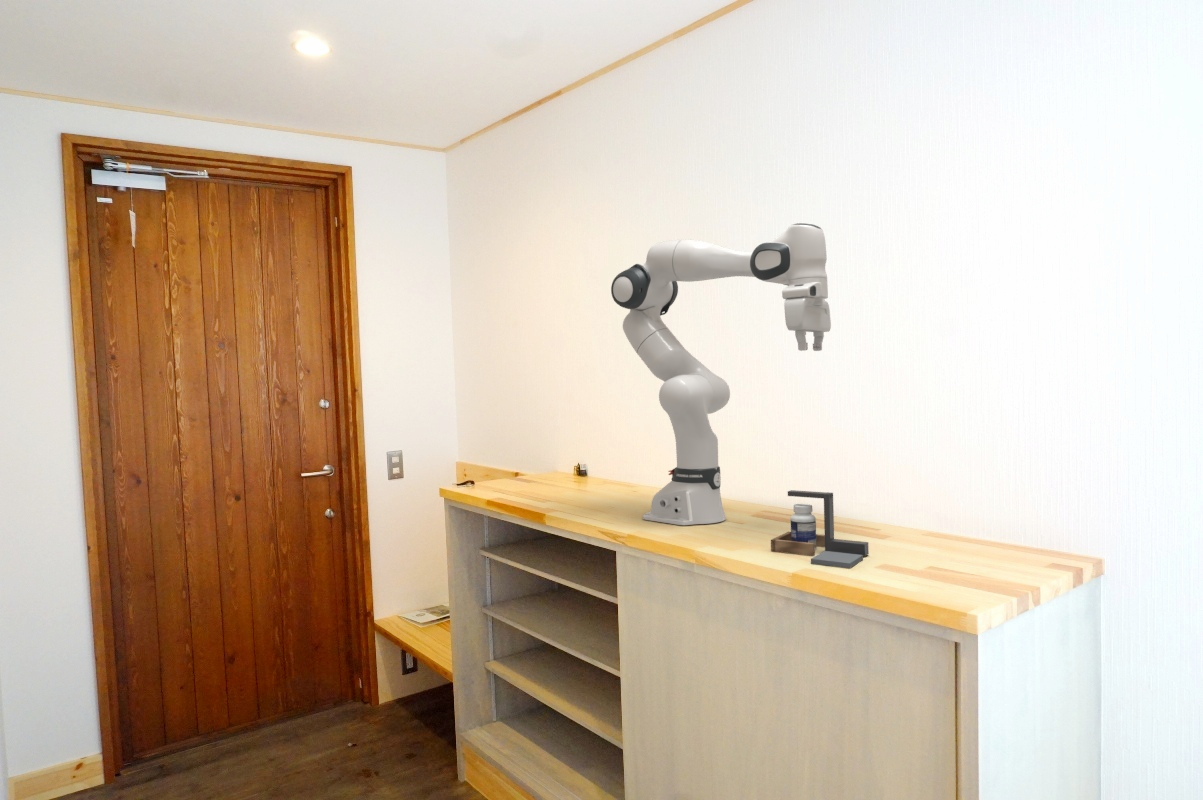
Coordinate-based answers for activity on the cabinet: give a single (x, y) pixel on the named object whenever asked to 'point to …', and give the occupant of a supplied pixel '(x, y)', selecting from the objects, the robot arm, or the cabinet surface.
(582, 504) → the cabinet surface
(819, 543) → the cradle
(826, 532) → the gate
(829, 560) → the mat
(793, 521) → the pill bottle
